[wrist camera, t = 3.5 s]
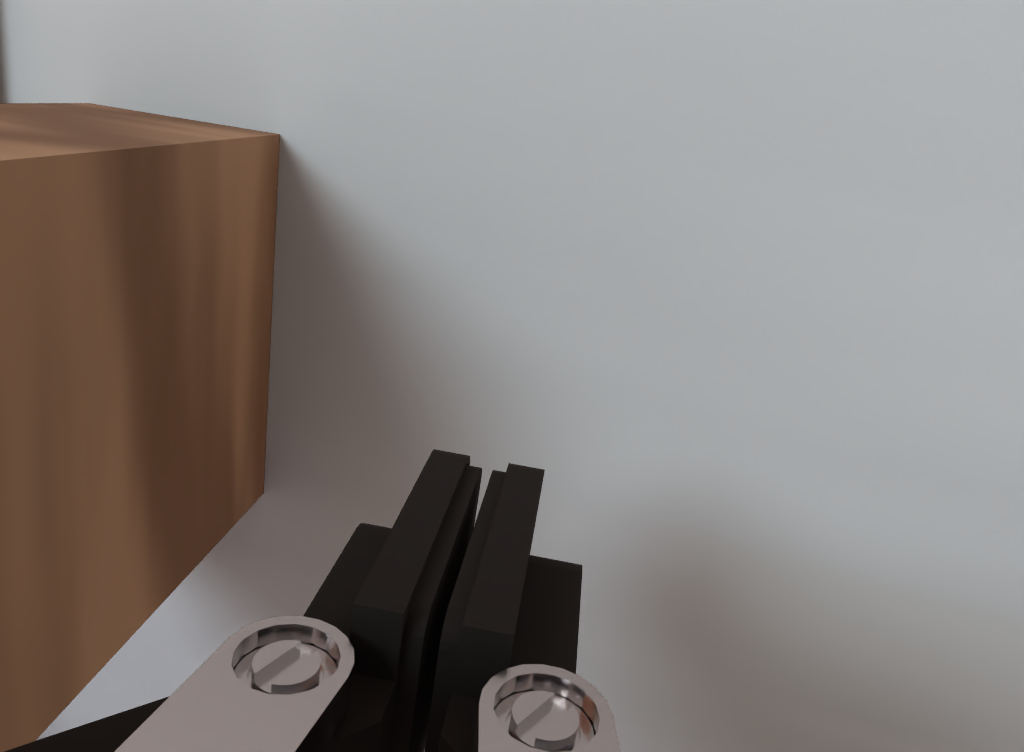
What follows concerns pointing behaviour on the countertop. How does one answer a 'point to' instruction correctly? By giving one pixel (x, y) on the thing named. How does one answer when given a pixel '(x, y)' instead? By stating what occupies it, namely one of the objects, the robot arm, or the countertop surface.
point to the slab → (121, 376)
